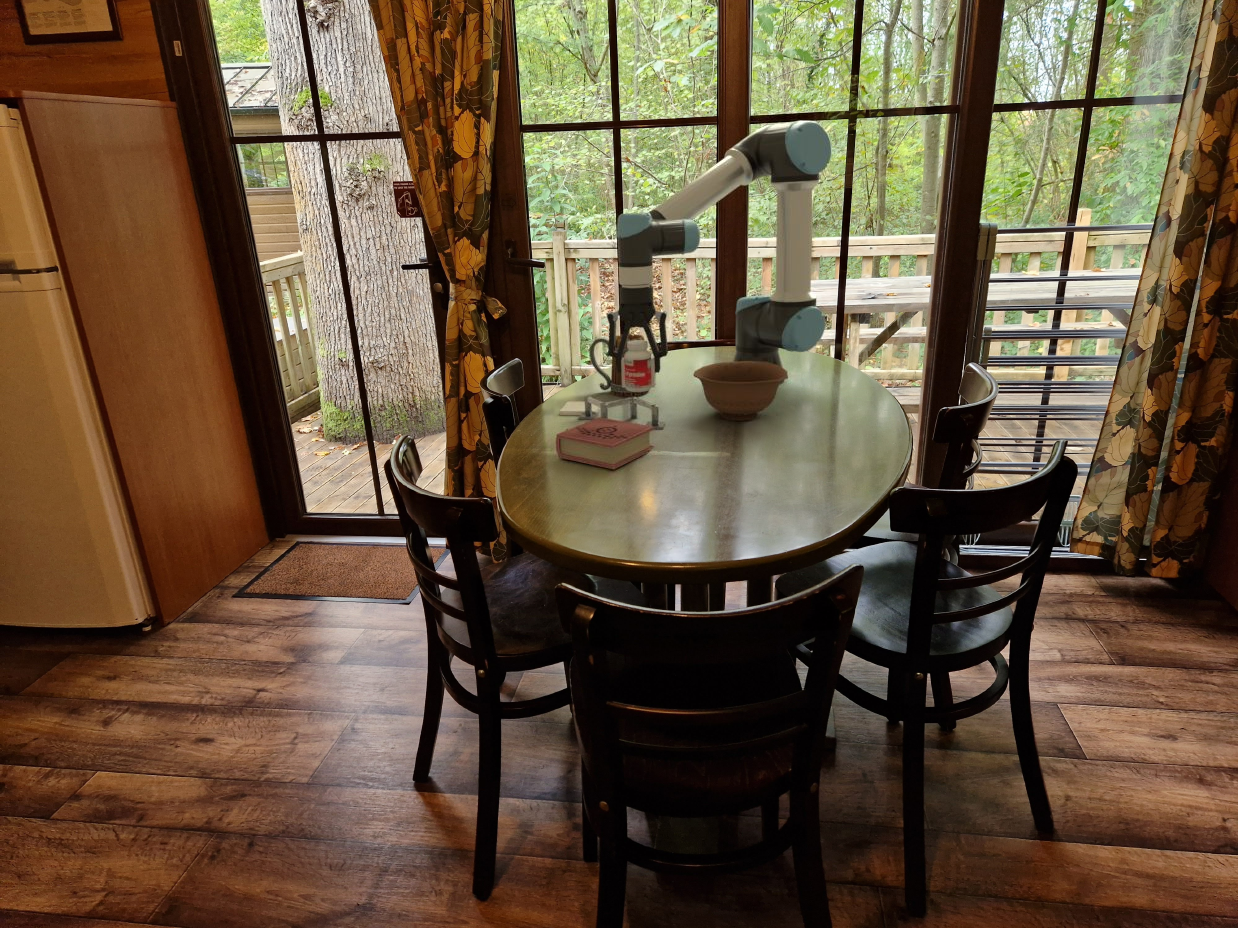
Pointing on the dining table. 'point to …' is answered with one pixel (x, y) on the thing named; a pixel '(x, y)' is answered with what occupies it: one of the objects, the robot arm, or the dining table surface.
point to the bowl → (740, 387)
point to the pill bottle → (637, 366)
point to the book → (604, 442)
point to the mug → (614, 368)
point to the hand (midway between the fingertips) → (639, 386)
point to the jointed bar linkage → (631, 400)
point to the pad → (577, 408)
